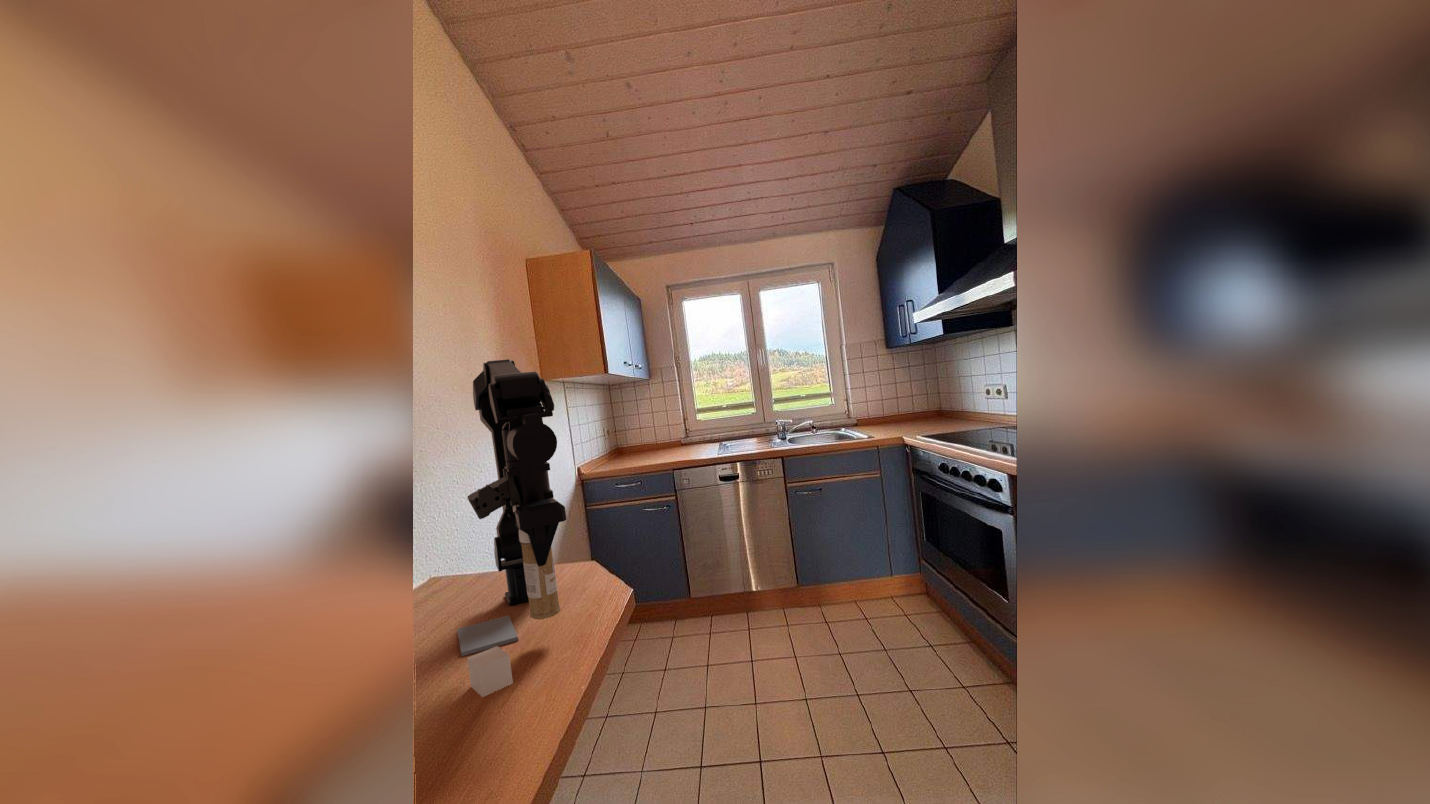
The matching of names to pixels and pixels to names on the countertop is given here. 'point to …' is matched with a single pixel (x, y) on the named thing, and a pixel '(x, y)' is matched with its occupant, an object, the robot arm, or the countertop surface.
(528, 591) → the sprinkles bottle
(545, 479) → the robot arm
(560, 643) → the countertop surface
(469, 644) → the grey mat
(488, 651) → the light grey block
